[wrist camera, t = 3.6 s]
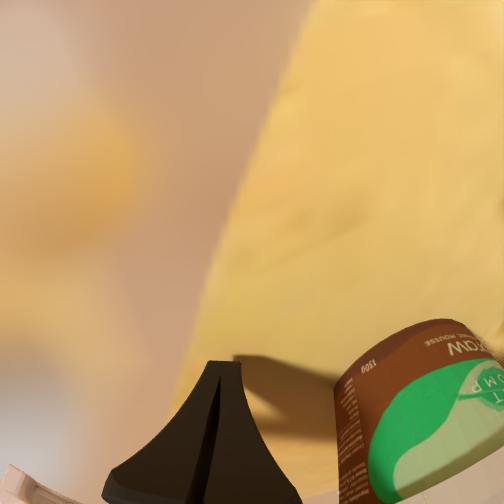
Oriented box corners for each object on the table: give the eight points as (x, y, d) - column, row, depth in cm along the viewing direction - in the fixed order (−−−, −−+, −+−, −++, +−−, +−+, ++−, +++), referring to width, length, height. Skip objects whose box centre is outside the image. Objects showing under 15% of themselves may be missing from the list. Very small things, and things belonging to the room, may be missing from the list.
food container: (515, 298, 11) (603, 409, 2) (472, 373, 14) (527, 483, 5) (337, 294, 11) (417, 555, 2) (306, 390, 14) (325, 571, 5)
